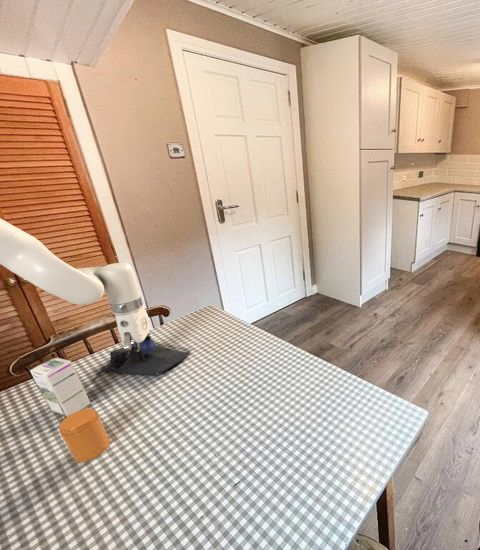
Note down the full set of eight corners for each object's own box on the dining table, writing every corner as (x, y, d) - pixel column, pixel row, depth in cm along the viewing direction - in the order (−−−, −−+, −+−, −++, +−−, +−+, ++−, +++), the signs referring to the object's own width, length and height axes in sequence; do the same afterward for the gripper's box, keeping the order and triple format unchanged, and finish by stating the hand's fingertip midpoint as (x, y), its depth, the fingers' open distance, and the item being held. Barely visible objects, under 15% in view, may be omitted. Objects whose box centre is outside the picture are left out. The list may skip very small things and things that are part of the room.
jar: (67, 466, 66) (50, 434, 62) (82, 441, 71) (67, 411, 68) (102, 457, 68) (88, 426, 64) (114, 434, 73) (101, 404, 70)
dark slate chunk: (155, 384, 89) (150, 371, 87) (97, 372, 94) (92, 360, 92) (194, 353, 103) (191, 342, 101) (142, 344, 108) (138, 333, 106)
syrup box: (91, 403, 83) (72, 359, 77) (66, 420, 77) (44, 374, 72) (76, 398, 84) (56, 355, 79) (51, 415, 79) (28, 370, 73)
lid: (125, 350, 95) (123, 346, 94) (151, 340, 100) (150, 336, 99) (131, 359, 91) (129, 355, 90) (158, 349, 96) (157, 345, 95)
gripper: (130, 316, 83) (147, 369, 89) (151, 291, 98) (164, 337, 105) (97, 320, 81) (117, 374, 87) (123, 294, 96) (139, 341, 103)
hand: (143, 354), depth 96 cm, fingers closed on lid, 7 cm apart
